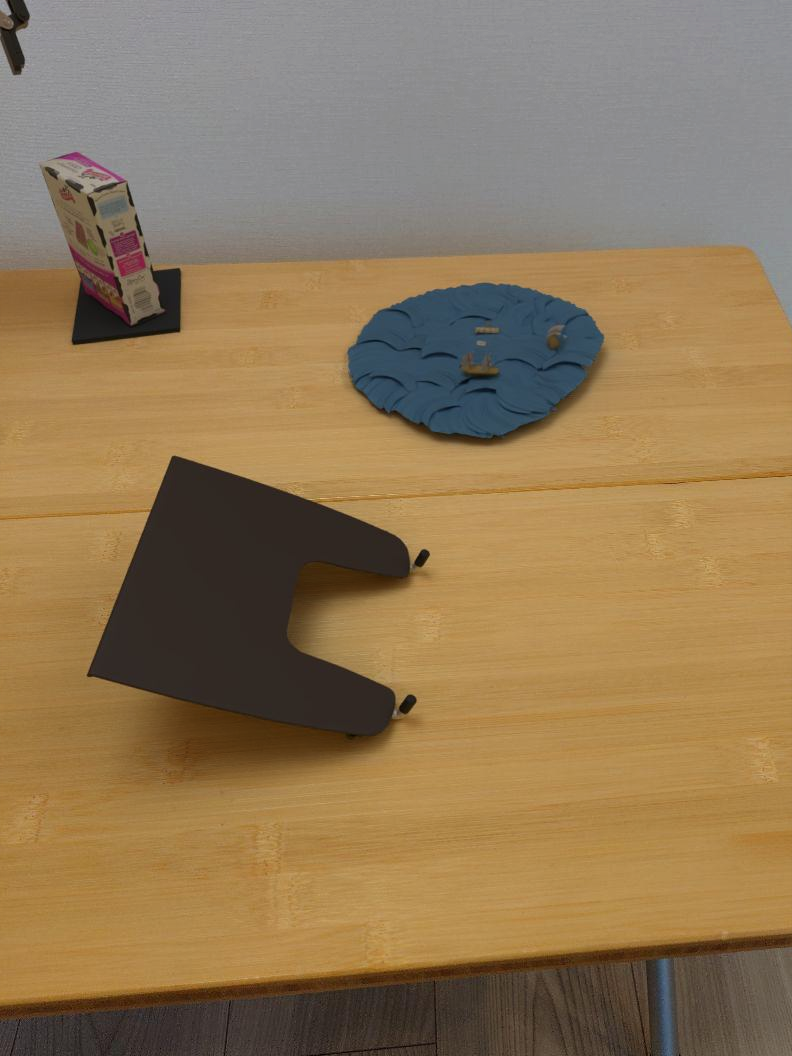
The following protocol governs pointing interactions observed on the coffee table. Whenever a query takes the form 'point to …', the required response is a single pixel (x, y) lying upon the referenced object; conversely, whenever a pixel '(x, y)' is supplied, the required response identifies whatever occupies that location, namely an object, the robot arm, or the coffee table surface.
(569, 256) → the coffee table surface
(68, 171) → the candy bar box
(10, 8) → the robot arm
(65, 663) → the coffee table surface
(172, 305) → the mat
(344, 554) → the laptop tray
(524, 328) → the blue wavy sea disc
